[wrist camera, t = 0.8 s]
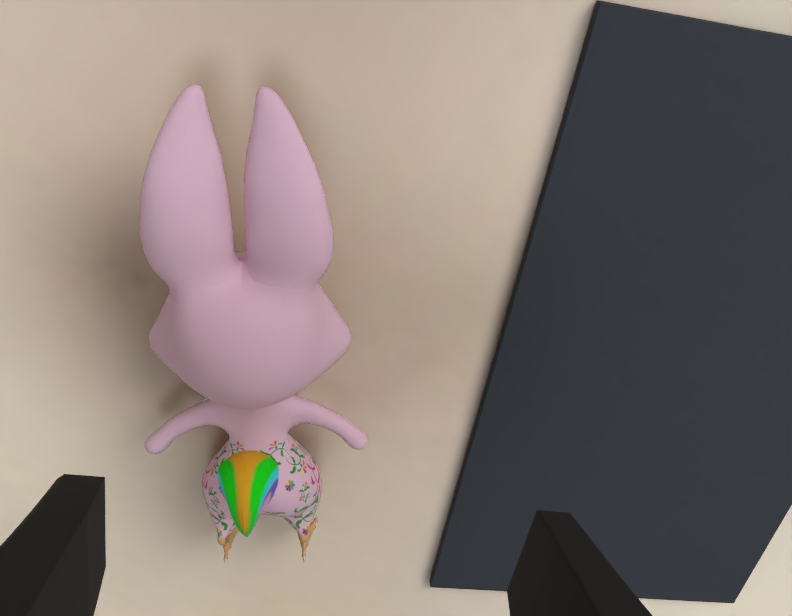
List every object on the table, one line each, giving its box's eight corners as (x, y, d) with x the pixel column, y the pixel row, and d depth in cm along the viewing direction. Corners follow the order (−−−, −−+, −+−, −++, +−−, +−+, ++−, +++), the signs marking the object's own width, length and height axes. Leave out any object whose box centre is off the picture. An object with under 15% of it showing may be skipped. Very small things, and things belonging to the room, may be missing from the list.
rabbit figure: (361, 478, 26) (379, 58, 17) (368, 646, 22) (400, 199, 12) (178, 482, 26) (89, 50, 16) (146, 656, 21) (-3, 195, 12)
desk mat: (730, 597, 29) (733, 603, 29) (429, 580, 27) (430, 587, 27) (1031, 80, 20) (1040, 83, 19) (596, 0, 18) (600, 2, 17)
